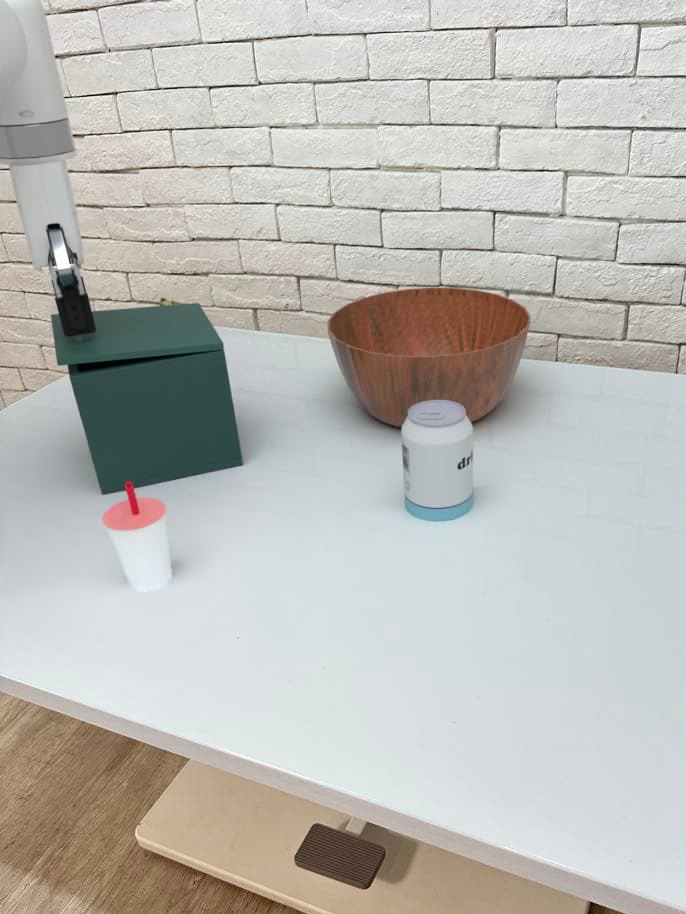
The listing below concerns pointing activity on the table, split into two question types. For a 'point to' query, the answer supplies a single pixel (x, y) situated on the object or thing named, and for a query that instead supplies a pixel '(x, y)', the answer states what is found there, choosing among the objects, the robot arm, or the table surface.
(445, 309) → the bowl
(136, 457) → the cooler
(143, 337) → the lid
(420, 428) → the beverage can
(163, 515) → the cup
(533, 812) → the table surface
